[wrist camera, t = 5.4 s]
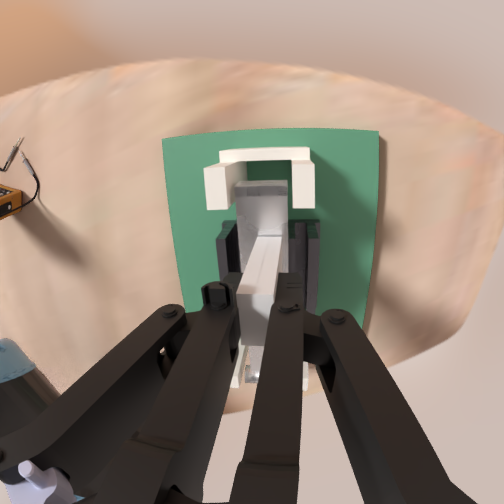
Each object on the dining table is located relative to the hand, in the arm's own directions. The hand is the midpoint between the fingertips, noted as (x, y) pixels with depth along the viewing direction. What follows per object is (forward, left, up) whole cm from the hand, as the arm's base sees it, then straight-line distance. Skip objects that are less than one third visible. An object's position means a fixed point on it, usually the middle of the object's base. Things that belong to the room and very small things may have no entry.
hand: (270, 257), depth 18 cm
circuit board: (-3, 0, -8) cm, 9 cm away
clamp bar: (-4, 0, -2) cm, 4 cm away
